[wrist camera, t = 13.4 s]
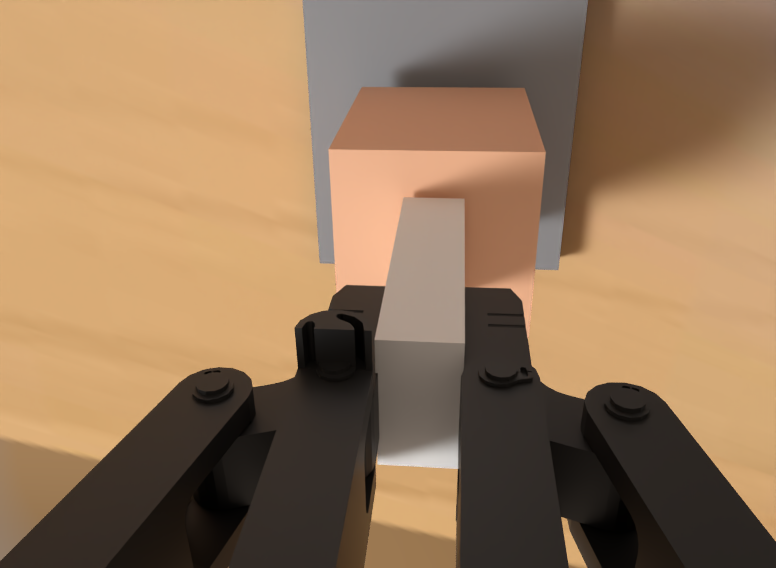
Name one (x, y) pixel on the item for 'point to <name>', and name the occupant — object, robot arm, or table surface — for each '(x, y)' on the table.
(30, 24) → the table surface
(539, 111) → the plinth
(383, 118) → the peach foam cube
